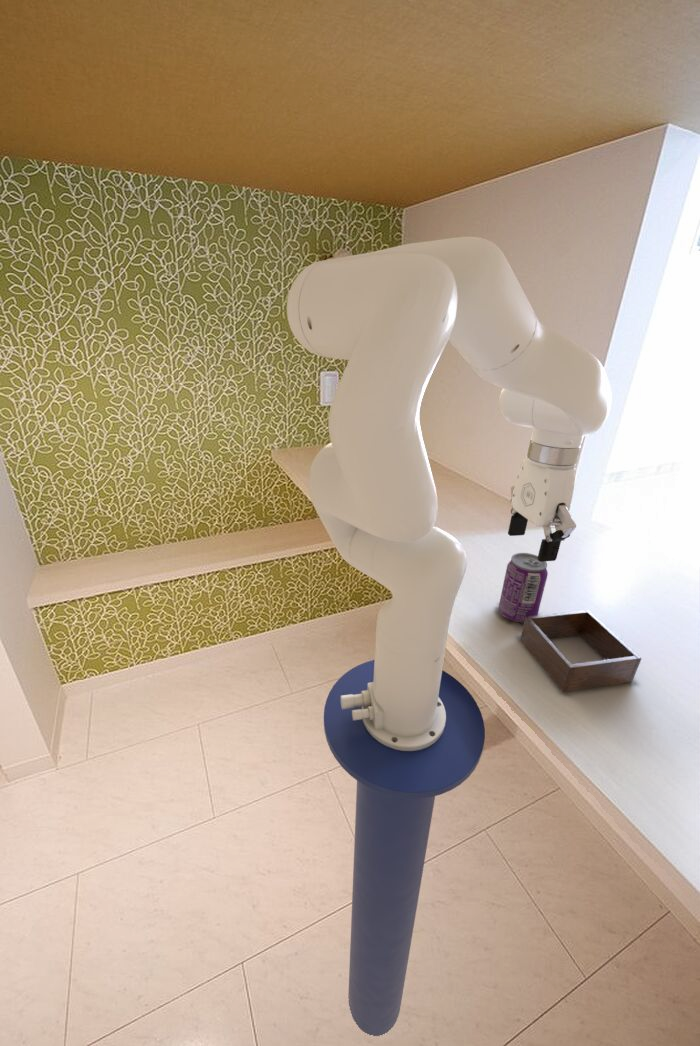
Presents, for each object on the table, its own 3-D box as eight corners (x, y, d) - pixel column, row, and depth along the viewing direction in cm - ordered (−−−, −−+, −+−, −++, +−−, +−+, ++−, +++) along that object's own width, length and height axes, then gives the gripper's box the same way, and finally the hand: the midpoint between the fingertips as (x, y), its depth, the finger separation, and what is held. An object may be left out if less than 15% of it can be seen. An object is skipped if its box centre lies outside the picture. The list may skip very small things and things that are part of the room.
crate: (562, 692, 67) (570, 668, 65) (519, 639, 78) (525, 616, 76) (632, 682, 69) (642, 658, 67) (581, 631, 80) (588, 609, 78)
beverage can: (542, 614, 84) (556, 561, 79) (526, 631, 80) (540, 575, 75) (508, 598, 89) (519, 547, 84) (491, 613, 84) (501, 560, 79)
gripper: (504, 440, 77) (488, 527, 85) (565, 470, 62) (539, 573, 69) (542, 440, 79) (523, 525, 86) (611, 469, 63) (580, 570, 71)
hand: (530, 546), depth 78 cm, fingers open, 9 cm apart
